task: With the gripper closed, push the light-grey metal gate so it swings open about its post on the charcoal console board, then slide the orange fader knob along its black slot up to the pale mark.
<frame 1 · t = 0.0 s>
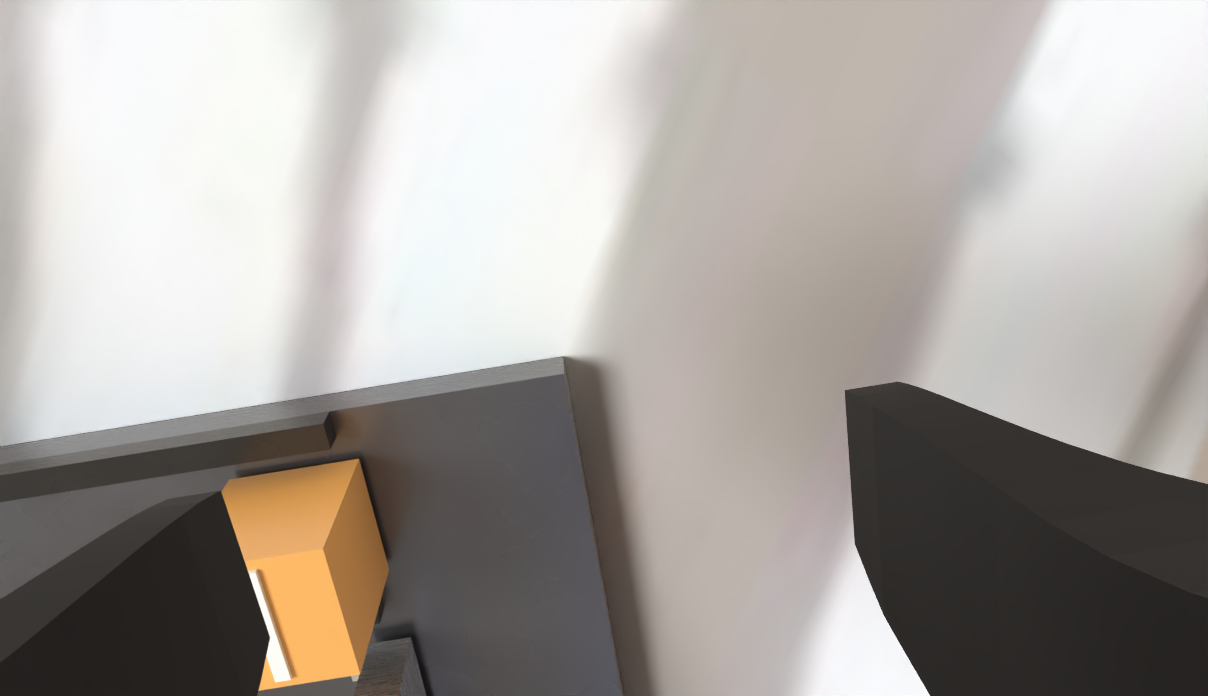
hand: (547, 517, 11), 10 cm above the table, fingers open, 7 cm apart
fader: (290, 572, 19), point 3 cm above the table, slide at 0.0 cm
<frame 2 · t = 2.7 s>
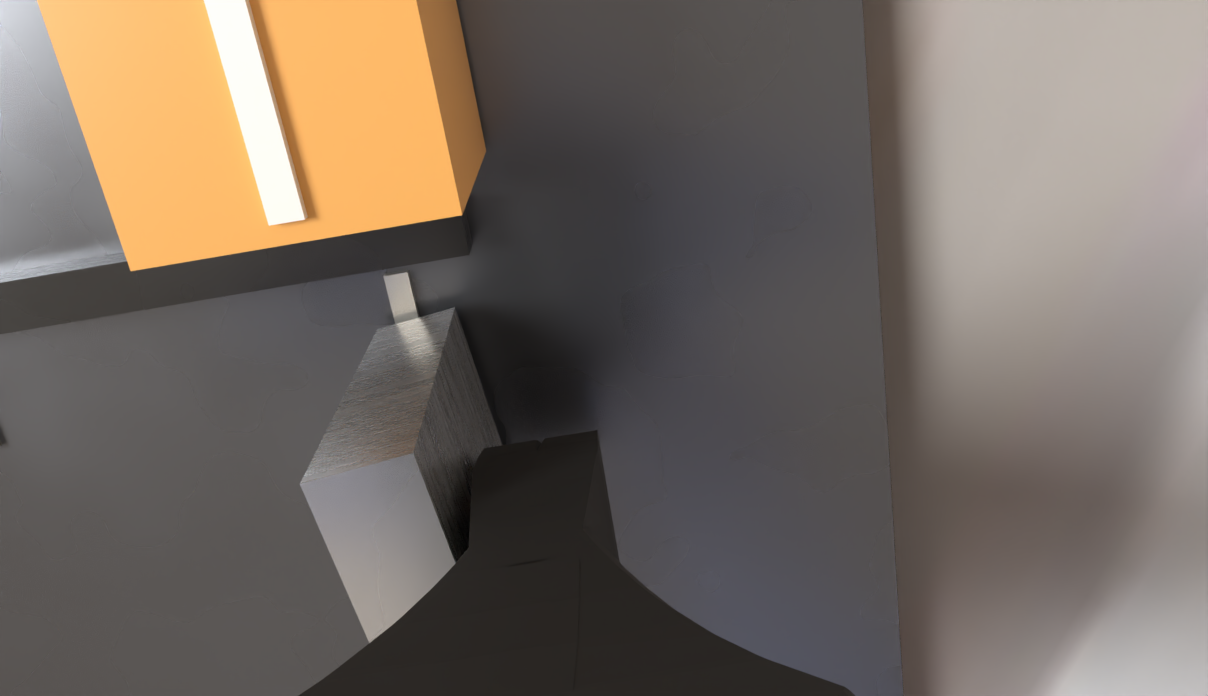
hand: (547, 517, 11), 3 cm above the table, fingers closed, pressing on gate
console: (315, 460, 14), on the table
gate: (493, 646, 11), point 3 cm above the table, hinge at 6.4°, touching gripper
fader: (300, 57, 9), point 3 cm above the table, slide at 0.0 cm
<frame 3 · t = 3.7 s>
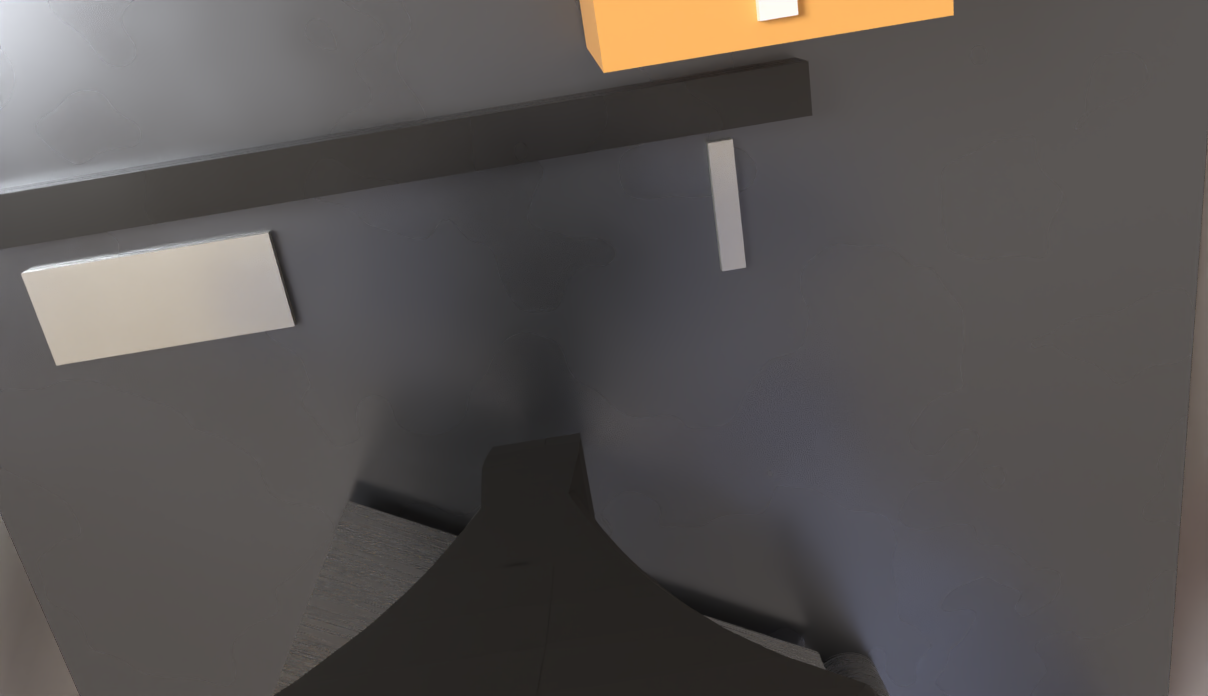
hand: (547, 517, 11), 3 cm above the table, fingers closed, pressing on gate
console: (587, 352, 13), on the table
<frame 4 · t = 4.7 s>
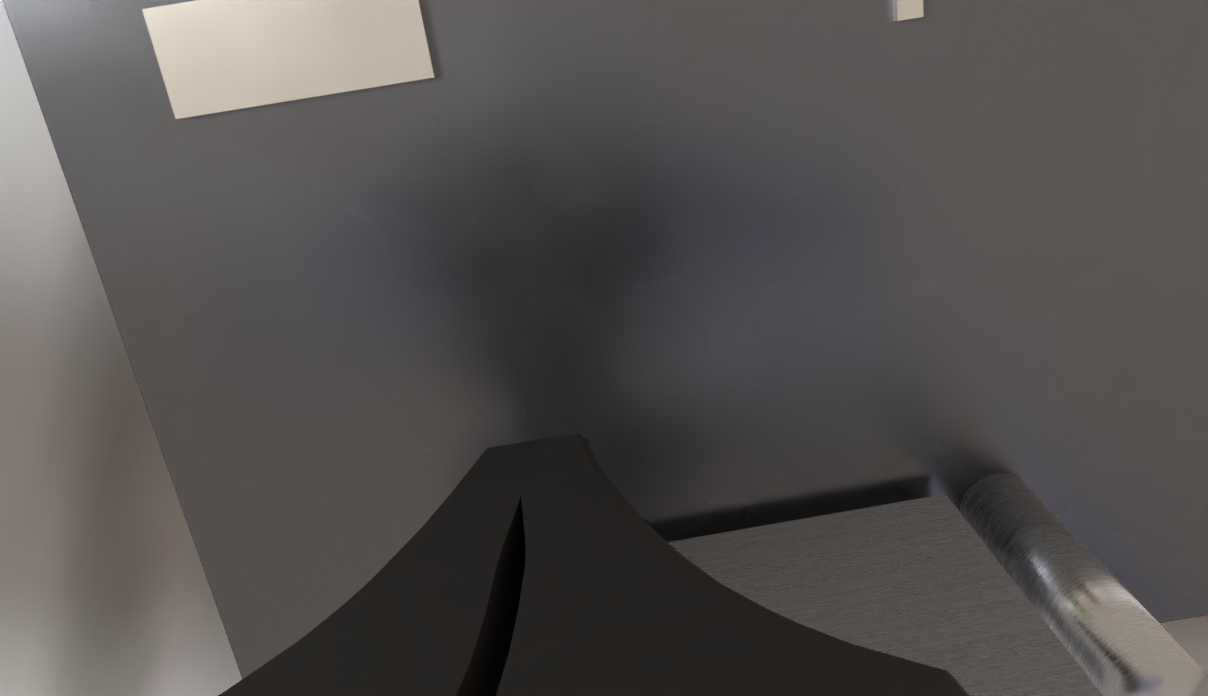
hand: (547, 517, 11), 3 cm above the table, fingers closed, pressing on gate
console: (731, 137, 12), on the table
gate: (721, 664, 11), point 3 cm above the table, hinge at 90.9°, touching gripper
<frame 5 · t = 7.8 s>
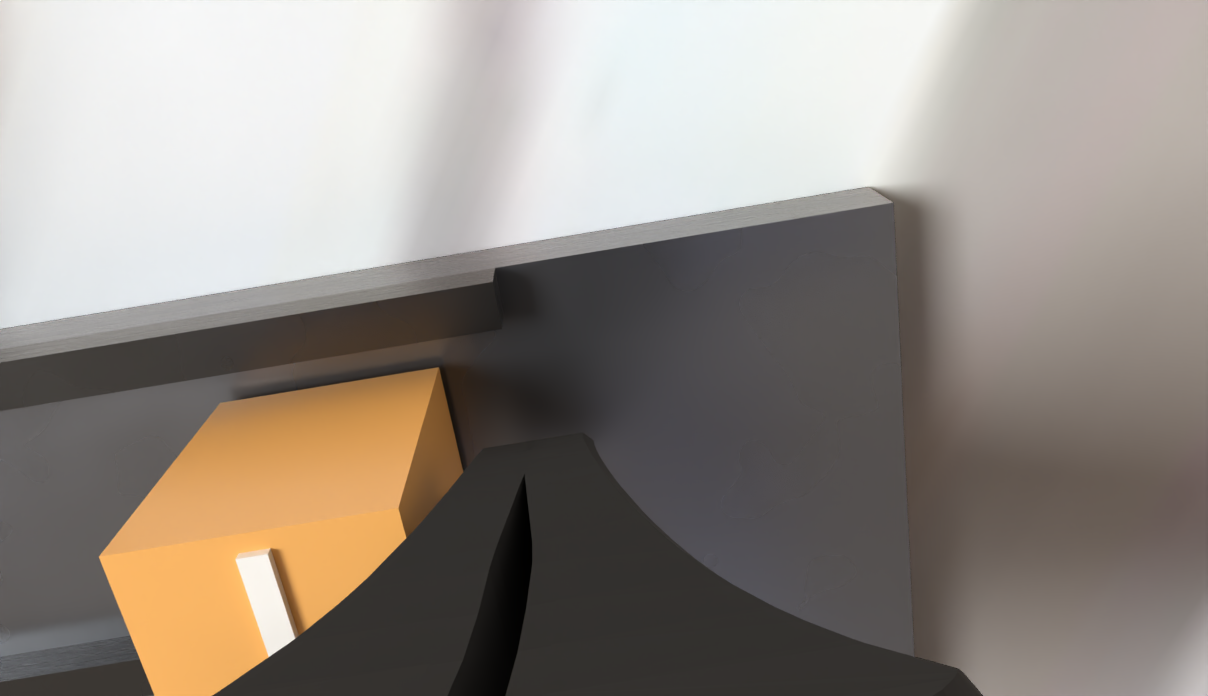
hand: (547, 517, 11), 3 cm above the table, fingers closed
fader: (327, 558, 11), point 3 cm above the table, slide at 1.3 cm, touching gripper
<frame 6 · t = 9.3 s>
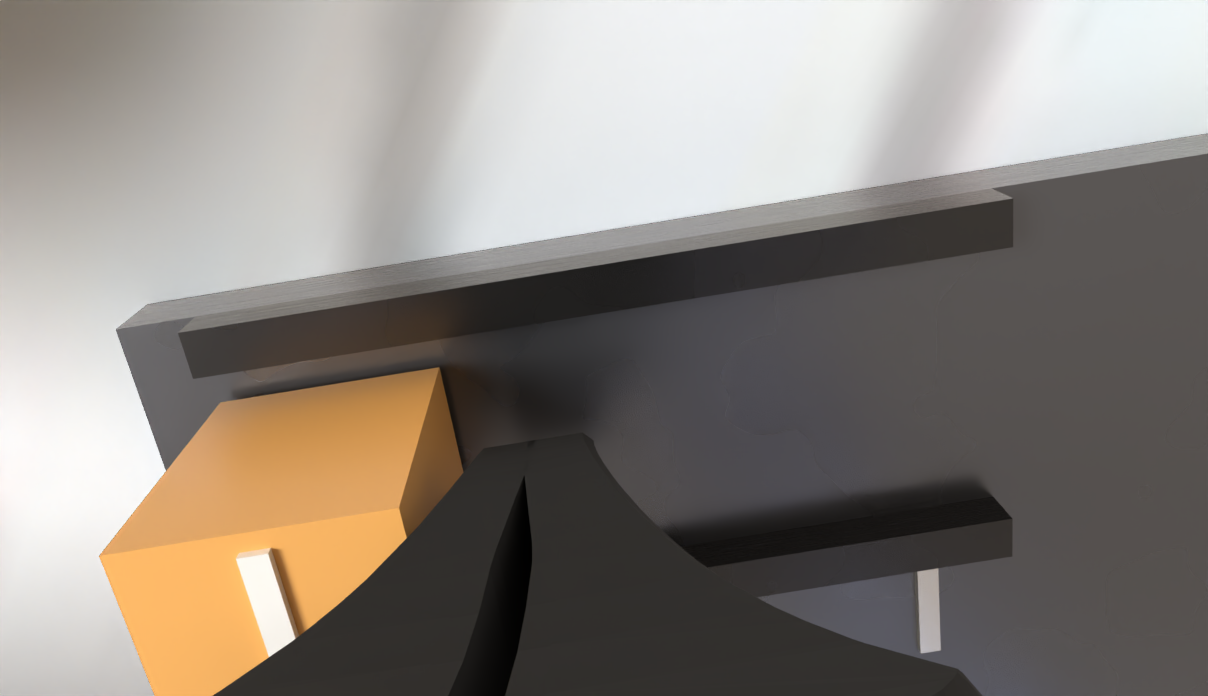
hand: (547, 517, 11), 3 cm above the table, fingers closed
console: (786, 686, 16), on the table
fader: (327, 557, 11), point 3 cm above the table, slide at 7.5 cm, touching gripper
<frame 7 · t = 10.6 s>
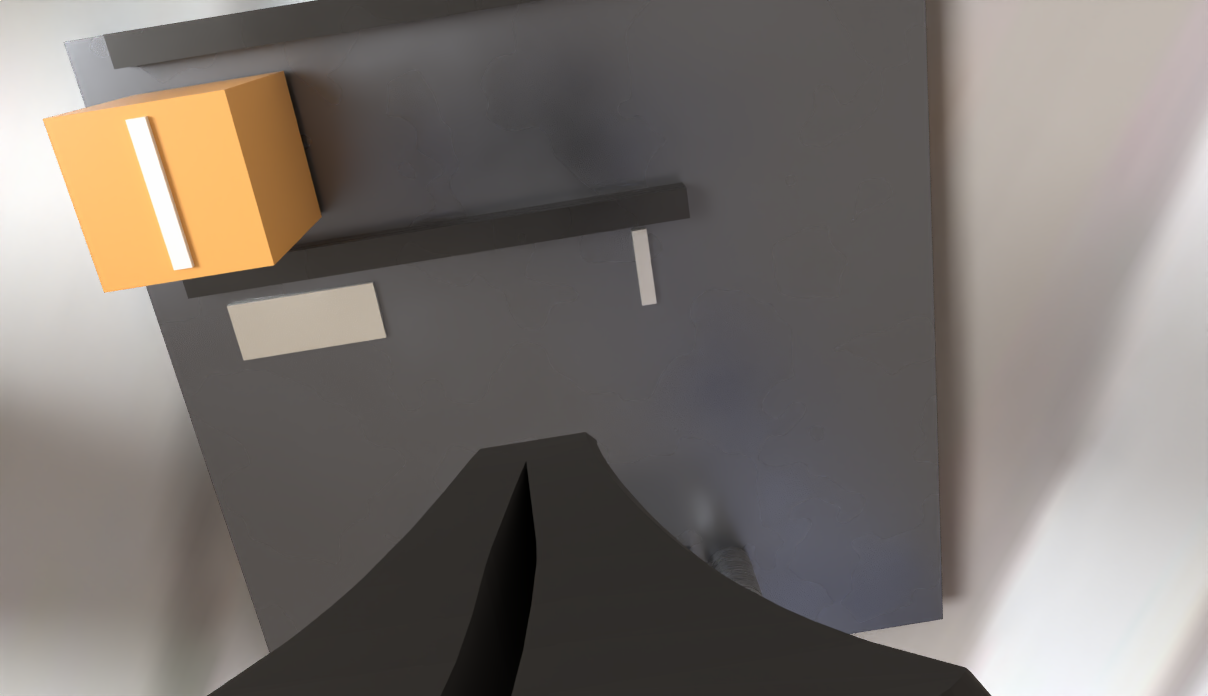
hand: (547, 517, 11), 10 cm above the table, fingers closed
console: (563, 353, 21), on the table
fader: (199, 174, 17), point 3 cm above the table, slide at 7.5 cm
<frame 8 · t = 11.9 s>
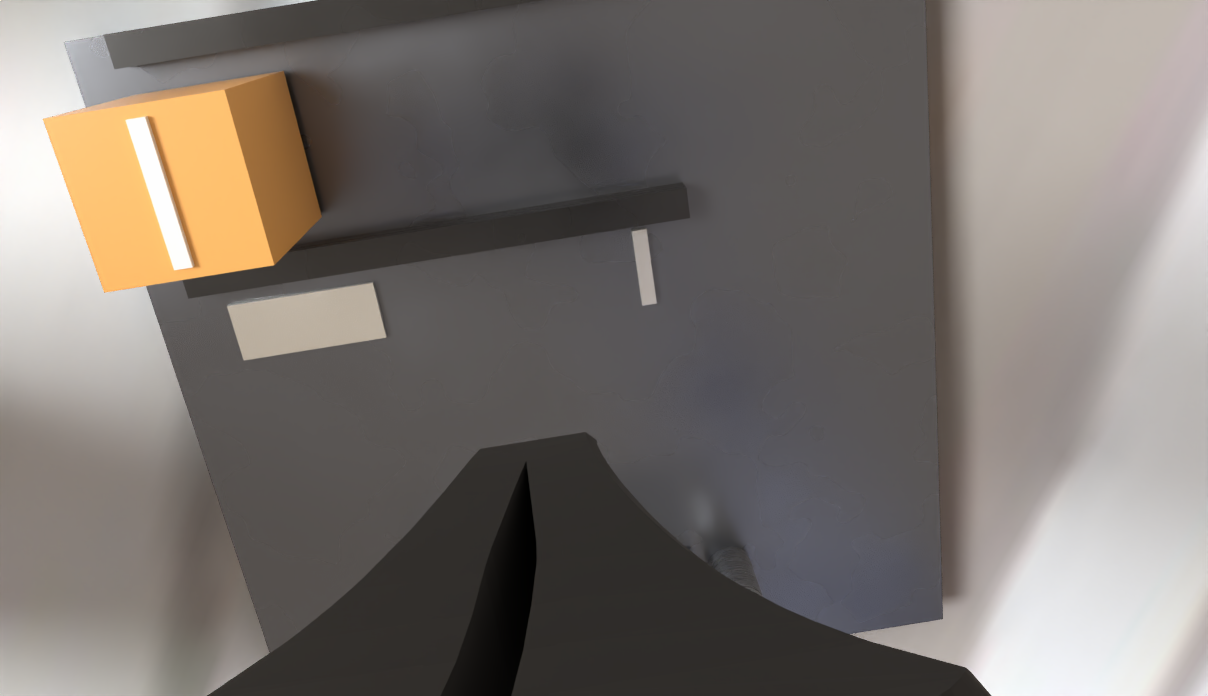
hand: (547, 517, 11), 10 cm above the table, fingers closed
console: (563, 353, 21), on the table
fader: (199, 174, 17), point 3 cm above the table, slide at 7.5 cm
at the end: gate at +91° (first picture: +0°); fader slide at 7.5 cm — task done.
